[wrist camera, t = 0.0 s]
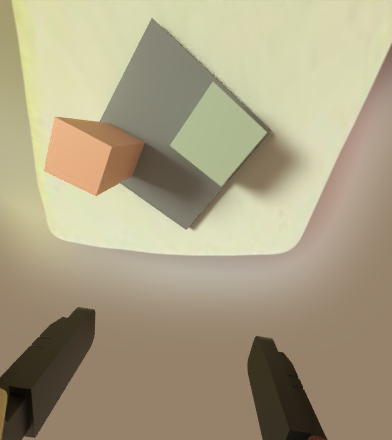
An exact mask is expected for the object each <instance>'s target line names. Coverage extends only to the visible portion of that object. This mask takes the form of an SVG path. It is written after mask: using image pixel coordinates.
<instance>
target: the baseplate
mask: <svg viewBox="0 0 392 440" xmlns="http://www.w3.org/2000/svg"><path fill="white" fill-rule="evenodd" d="M212 82H214V83H215V84H216V85H217V86H218V87H219V88H220V89H222V90H223V91H224V92H225V93H226V94H227V95H228V96H229V97H230V98H231V99H232V100H233V101H234V102H235V103H236V104H238V105H239V106H240V107H241V108H242V109H243V110H244V111H245V112H246V113H247V114H248V115H249V116H250V117H251V118H252V119H254V120H255V121H256V122H257V123H258V124H259V125H260V126H261V127H262V128H263V129H264V130H265V131H266V132H267V133H266V134H265V136H264V137H263V138H262V139H261V140H260V142H259V143H258V144H257V145H256V146H255V147H254V149H253V150H252V151H251V152H250V153H249V154H248V156H247V157H246V158H245V159H244V160H243V162H242V163H241V164H240V165H239V166H238V167H237V169H236V170H235V171H234V172H233V173H232V174H231V176H230V177H229V178H228V179H227V180H226V182H225V183H224V184H223V185H222V186H220V185H218V184H217V183H216V182H215V181H213V180H212V179H211V178H210V177H208V176H207V175H206V174H205V173H203V172H202V171H201V170H200V169H198V168H197V167H196V166H195V165H193V164H192V163H191V162H190V161H188V160H187V159H186V158H185V157H183V156H182V155H181V154H180V153H178V152H177V151H176V150H175V149H173V148H172V147H171V146H170V144H171V143H172V141H173V140H174V139H175V137H176V136H177V134H178V133H179V131H180V130H181V128H182V127H183V125H184V124H185V122H186V121H187V119H188V118H189V116H190V115H191V113H192V112H193V110H194V109H195V107H196V106H197V104H198V103H199V101H200V100H201V98H202V97H203V95H204V94H205V92H206V91H207V89H208V88H209V86H210V85H211V83H212ZM100 122H104V123H110V124H112V125H114V126H116V127H117V128H119V129H121V130H123V131H125V132H127V133H128V134H130V135H132V136H134V137H136V138H138V139H139V140H141V141H143V142H145V144H144V147H143V149H142V152H141V154H140V157H139V159H138V162H137V165H136V167H135V170H134V172H133V175H132V176H131V177H129V178H127V179H126V180H124V181H122V182H120V183H121V184H122V185H124V186H125V187H127V188H128V189H129V190H131V191H132V192H134V193H135V194H136V195H138V196H139V197H141V198H142V199H143V200H145V201H146V202H148V203H149V204H150V205H152V206H153V207H155V208H156V209H158V210H159V211H160V212H162V213H163V214H165V215H166V216H167V217H169V218H170V219H172V220H173V221H174V222H176V223H177V224H179V225H180V226H181V227H183V228H184V229H186V230H187V228H188V227H189V226H190V225H191V224H192V223H193V221H194V220H195V219H196V218H197V217H198V216H199V214H200V213H201V212H202V211H203V210H204V209H205V207H206V206H207V205H208V204H209V203H210V202H211V200H212V199H213V198H214V197H215V196H216V195H217V193H218V192H219V191H220V190H221V189H222V188H223V186H224V185H225V184H226V183H227V182H228V180H229V179H230V178H231V177H232V176H233V175H234V173H235V172H236V171H237V170H238V169H239V168H240V166H241V165H242V164H243V163H244V162H245V161H246V159H247V158H248V157H249V156H250V155H251V154H252V152H253V151H254V150H255V149H256V148H257V147H258V145H259V144H260V143H261V142H262V141H263V140H264V138H265V137H266V136H267V135H268V134H269V132H270V131H271V130H270V129H269V128H268V127H267V126H266V125H265V124H264V123H263V122H262V121H261V120H260V119H258V118H257V117H256V116H255V115H254V114H253V113H252V112H251V111H250V110H249V109H248V108H247V107H246V106H245V105H244V104H243V103H242V102H240V101H239V100H238V99H237V98H236V97H235V96H234V95H233V94H232V93H231V92H230V91H229V90H228V89H227V88H226V87H225V86H224V85H222V84H221V83H220V82H219V81H218V80H217V79H216V78H215V77H214V76H213V75H212V74H211V73H210V72H209V71H208V70H207V69H206V68H204V67H203V66H202V65H201V64H200V63H199V62H198V61H197V60H196V59H195V58H194V57H193V56H192V55H191V54H190V53H189V52H188V51H186V50H185V49H184V48H183V47H182V46H181V45H180V44H179V43H178V42H177V41H176V40H175V39H174V38H173V37H172V36H171V35H170V34H168V33H167V32H166V31H165V30H164V29H163V28H162V27H161V26H160V25H159V24H158V23H157V22H156V21H155V20H154V19H153V18H152V19H151V21H150V23H149V25H148V27H147V29H146V31H145V33H144V35H143V37H142V38H141V40H140V42H139V44H138V46H137V48H136V50H135V52H134V54H133V56H132V58H131V60H130V62H129V64H128V66H127V68H126V70H125V72H124V74H123V76H122V78H121V80H120V82H119V84H118V86H117V88H116V90H115V92H114V94H113V96H112V98H111V100H110V102H109V104H108V106H107V108H106V110H105V112H104V114H103V116H102V118H101V120H100Z"/></svg>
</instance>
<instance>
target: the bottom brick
mask: <svg viewBox="0 0 392 440" xmlns="http://www.w3.org/2000/svg"><path fill="white" fill-rule="evenodd" d="M266 133H267V132H266V131H265V130H264V129H263V128H262V127H261V126H260V125H259V124H258V123H257V122H256V121H255V120H254V119H252V118H251V117H250V116H249V115H248V114H247V113H246V112H245V111H244V110H243V109H242V108H241V107H240V106H239V105H238V104H236V103H235V102H234V101H233V100H232V99H231V98H230V97H229V96H228V95H227V94H226V93H225V92H224V91H223V90H222V89H220V88H219V87H218V86H217V85H216V84H215V83H214V82H212V83H211V85H210V86H209V88H208V89H207V91H206V92H205V94H204V95H203V97H202V98H201V100H200V101H199V103H198V104H197V106H196V107H195V109H194V110H193V112H192V113H191V115H190V116H189V118H188V119H187V121H186V122H185V124H184V125H183V127H182V128H181V130H180V131H179V133H178V134H177V136H176V137H175V139H174V140H173V141H172V143H171V144H170V146H171V147H172V148H173V149H175V150H176V151H177V152H178V153H180V154H181V155H182V156H183V157H185V158H186V159H187V160H188V161H190V162H191V163H192V164H193V165H195V166H196V167H197V168H198V169H200V170H201V171H202V172H203V173H205V174H206V175H207V176H208V177H210V178H211V179H212V180H213V181H215V182H216V183H217V184H218V185H220V186H222V185H223V184H224V183H225V182H226V180H227V179H228V178H229V177H230V176H231V174H232V173H233V172H234V171H235V170H236V169H237V167H238V166H239V165H240V164H241V163H242V162H243V160H244V159H245V158H246V157H247V156H248V154H249V153H250V152H251V151H252V150H253V149H254V147H255V146H256V145H257V144H258V143H259V142H260V140H261V139H262V138H263V137H264V136H265V134H266Z"/></svg>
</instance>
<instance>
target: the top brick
mask: <svg viewBox="0 0 392 440" xmlns="http://www.w3.org/2000/svg"><path fill="white" fill-rule="evenodd" d="M144 144H145V142H143V141H141V140H139V139H138V138H136V137H134V136H132V135H130V134H128V133H127V132H125V131H123V130H121V129H119V128H117V127H116V126H114V125H112V124H110V123H104V122H95V121H87V120H78V119H70V118H61V117H55V118H54V123H53V128H52V133H51V138H50V143H49V148H48V153H47V158H46V163H45V168H44V171H45V172H47V173H49V174H51V175H54V176H56V177H58V178H60V179H62V180H64V181H66V182H68V183H70V184H72V185H74V186H76V187H78V188H80V189H82V190H85V191H87V192H89V193H91V194H93V195H95V196H97V195H99V194H100V193H102V192H104V191H106V190H108V189H109V188H111V187H113V186H115V185H117V184H118V183H120V182H122V181H124V180H126V179H127V178H129V177H131V176H132V175H133V172H134V170H135V167H136V165H137V162H138V159H139V157H140V154H141V152H142V149H143V147H144Z"/></svg>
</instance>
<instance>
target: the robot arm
mask: <svg viewBox="0 0 392 440" xmlns="http://www.w3.org/2000/svg"><path fill="white" fill-rule="evenodd" d="M94 334H95V310H93V309H88V308H81V307H78V308H77V309H75V311H74V312H73V313H72V314H71V315H70V316H69V317H68V318H65V317H62V318H61V319H59V320H57V321H56V322H54V323H53V324H51V325H50V326H49V327H48V328H47V329H46V330H45V331H44V332H43V333H42V334H41V335H40V337H38V338H37V339H36V340H35V341H34V342H33V343H32V345H31V346H30V347H29V348H28V349H27V350H26V351H25V352H24V353H23V354H22V355H21V356H20V357H19V358H18V359H17V360H16V361H15V362H14V363H13V364H12V365H11V367H10V368H9V369H8V370H7V371H6V372H5V373H4V374H3V375H2V376H1V377H0V440H22V438H23V437H24V436H26V437H34V438H35V437H36V435H37V434H38V432H39V431H40V429H41V427H42V426H43V424H44V422H45V421H46V419H47V418H48V416H49V414H50V413H51V411H52V409H53V408H54V406H55V405H56V403H57V401H58V400H59V398H60V396H61V395H62V393H63V391H64V390H65V388H66V386H67V385H68V383H69V382H70V380H71V378H72V377H73V375H74V373H75V372H76V370H77V368H78V367H79V365H80V364H81V362H82V360H83V359H84V357H85V355H86V354H87V352H88V351H89V349H90V347H91V345H92V342H93V339H94ZM248 375H249V380H250V385H251V389H252V394H253V398H254V402H255V407H256V411H257V416H258V421H259V425H260V430H261V434H262V438H263V440H327V438H326V436H325V434H324V432H323V430H322V428H321V426H320V423H319V421H318V419H317V417H316V414H315V412H314V410H313V408H312V406H311V403H310V401H309V399H308V397H307V395H306V393H305V390H303V386H302V384H301V382H300V380H299V379H298V375H297V373H296V371H295V368H294V366H293V364H292V363H291V361H290V360H289V359H288V358H287V357H286V355H285V354H284V353H283V352H278V350H277V348H276V345H275V343H274V341H273V339H271V338H266V337H260V336H256V337H255V339H254V342H253V345H252V348H251V351H250V355H249V358H248Z"/></svg>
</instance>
